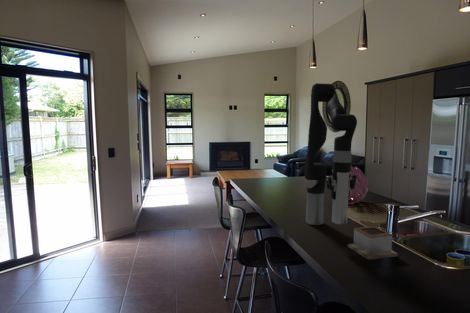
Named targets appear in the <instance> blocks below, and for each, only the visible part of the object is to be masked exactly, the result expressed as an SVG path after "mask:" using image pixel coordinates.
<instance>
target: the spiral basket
mask: <svg viewBox="0 0 470 313" xmlns="http://www.w3.org/2000/svg"><path fill="white" fill-rule="evenodd" d="M331 172H332V173H333V168H332V169H331ZM350 175H355V176H357V177H356V182H355V187H354V189H351V190H350V197H349V199H348V200H350V201H351V202H348V204H349V205H354V204H355V203H356V204H358V203H359V202H360V201H362V200H363V199H364V198H365V196H366V195H367V193H368V190H369V180H368V177H366V175H365V174H364V173H363V171H362V170H361V169H360V168H358V166H354V167H353V166H352V165H351V171H350ZM349 183H350V178H349ZM363 192H364V193H363ZM357 197H358V198H357ZM331 200H332V201H333V199H332V198H331ZM352 201H354V202H352Z"/></svg>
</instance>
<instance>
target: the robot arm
mask: <svg viewBox="0 0 470 313" xmlns="http://www.w3.org/2000/svg"><path fill="white" fill-rule="evenodd" d="M338 96H339V95H338V92H337V91H336V88H335V85H333V84H331V83H321V82H320V83H317V82H316V83H314V84H312V87H311V92H310V117H309V127H308V134H307V137H308V139H307V150H306V152H307V153H306V157H305V164H304V172H303V175H304V177H305V178H304V179H305V180H306V181H315V182H314V183H312V184H310V185H308V186H307V187H306V203H305V222H306V224H308V225H310V226H311V225H313V226H321V225H323V224H324V210H325V209H324V208H325V207H324V205H325V188H326V189H327V190H330V192H331V193H330V198H331V200H332V199H334V200H335V199H336V186H338V182H337V183H336V184H334V179H335V181H336V179H337V174H336V173H337V172H339V173H348V172H350V171H351V166H352V143H353V142H352V141H353V137H354V134H355V131H356V128H357V125H358V119H357V117H356V116H355V115H354V114H347V110H346V109H345V108H344V106H343V105H342V103H341V102H340V99H339V97H338ZM319 103H327V104H326V108H325V109H326V112H327V115H328V116H329V118H330V127H331V129H333V131H337V132H344V134H343V135H339V136H336V137H335V138H334V141H333V143H334V144H333V153H332V154H333V155H332V169H333V172H332V174H331V175H327V167H326V165H325V164H324V163H322V162H315V160H316V156H317V154H318V152H319V151H320V150H321V149H322V148H323V146H324V145H325V143H326V141H327V137H328V136H327V132H328V126H327V123H326V121H325V120H324V118H323V116H322V114H321V112H320V108H319V106H320V105H319ZM356 177H357V176H356V175H350V174H349V178H350V183H349V194H348V200H350V199H349V197H350V190H353V189H354V187H355V182H356ZM356 183H357V182H356ZM334 185H335V186H334Z"/></svg>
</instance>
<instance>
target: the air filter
mask: <svg viewBox="0 0 470 313" xmlns="http://www.w3.org/2000/svg"><path fill="white" fill-rule="evenodd" d="M336 174H337V179H336V181H335V179H334V184H336V183H337V182H338V186H336V199H335V200H334V199H333V200H332V206H331V208H332V209H331V222H332V223H333V224H336V225H346V224H348V215H349V214H348V210H349V205H348V203H349V199H348V194H349V174H350V172H348V173H339V172H337V173H336ZM334 186H335V185H334Z"/></svg>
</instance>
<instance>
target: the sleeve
mask: <svg viewBox="0 0 470 313" xmlns="http://www.w3.org/2000/svg"><path fill="white" fill-rule="evenodd" d="M353 243H354V244H353V245H354V246H356V247H357V248H359V249H361V250H362V251H364V252H366V253H367V254H369V255H371V254H380V253H389V252H391V250H392V245H393V244H392V243H393V233H390V232H389V231H386V230H385V229H382V228H380V227H378V226H375V225H373V226H362V227H361V226H360V227H353Z"/></svg>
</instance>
